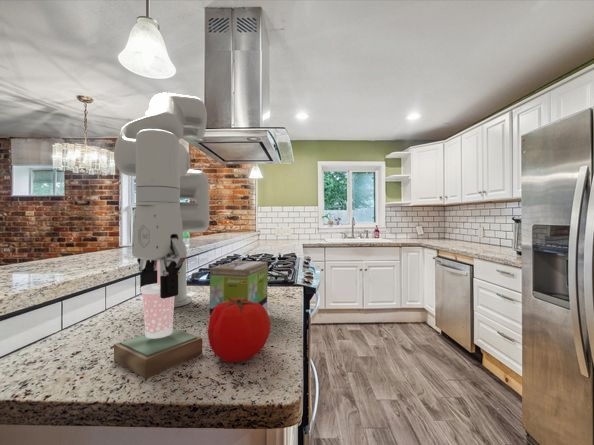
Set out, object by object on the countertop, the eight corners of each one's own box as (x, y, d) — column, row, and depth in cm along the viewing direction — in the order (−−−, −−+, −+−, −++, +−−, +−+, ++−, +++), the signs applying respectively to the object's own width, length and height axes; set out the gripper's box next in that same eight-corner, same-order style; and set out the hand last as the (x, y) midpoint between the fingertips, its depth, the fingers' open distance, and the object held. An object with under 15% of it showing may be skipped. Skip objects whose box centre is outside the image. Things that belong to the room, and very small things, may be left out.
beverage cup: (159, 326, 60) (159, 256, 60) (183, 330, 58) (183, 258, 58) (132, 337, 54) (132, 260, 54) (158, 342, 52) (158, 262, 52)
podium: (113, 360, 54) (113, 342, 54) (169, 340, 64) (169, 325, 64) (145, 378, 48) (145, 357, 48) (202, 353, 57) (202, 336, 57)
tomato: (214, 345, 61) (214, 291, 61) (270, 343, 62) (270, 289, 62) (199, 375, 49) (199, 307, 49) (269, 372, 50) (269, 305, 50)
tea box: (249, 333, 67) (248, 268, 68) (208, 331, 69) (207, 267, 70) (268, 314, 82) (268, 260, 82) (234, 312, 84) (234, 259, 84)
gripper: (115, 199, 58) (115, 292, 58) (165, 194, 48) (166, 306, 48) (152, 201, 64) (153, 285, 64) (204, 197, 54) (205, 296, 54)
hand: (159, 293), depth 56 cm, fingers closed on beverage cup, 6 cm apart
